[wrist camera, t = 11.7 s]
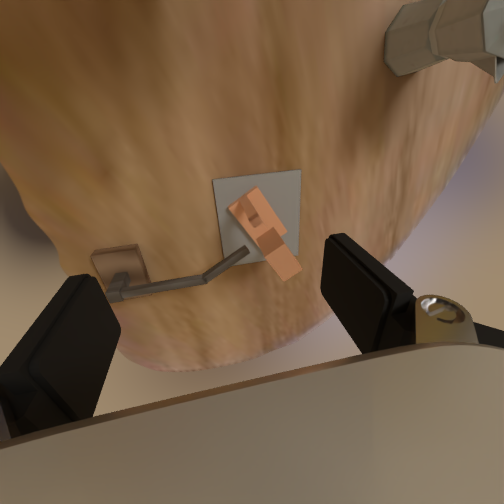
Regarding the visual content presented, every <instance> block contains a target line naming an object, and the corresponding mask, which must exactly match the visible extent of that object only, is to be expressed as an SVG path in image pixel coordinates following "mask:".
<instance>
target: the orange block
mask: <svg viewBox="0 0 504 504" xmlns="http://www.w3.org/2000/svg"><path fill="white" fill-rule="evenodd" d="M228 208H229V210H230V211H231V212H232V214H233V215H234V216H235V217H236V219H237V220H238V221H239V222H240V224H241V225H242V226H243V227H244V229H245V230H246V231H247V233H248V234H249V235H250V236H251V238H252V239H253V240H254V241H255V243H256V244H257V245H258V246H259V248H260V249H261V251H262V253H263V255H264V257H265V259H266V260H267V261H268V262H269V264H270V265H271V266H272V267H273V269H274V270H275V271H276V272H277V274H278V275H279V276H280V277H281V279H282V280H283V281H286V280H287V279H289V278H290V277H292V276H293V275H295V274H296V273H298V272H299V271H301V270H303V269H302V267H301V266H300V264H299V263H298V261H297V260H296V258H295V257H294V255H293V254H292V252H291V251H290V249H289V248H288V247H287V245H286V244H285V242H284V241H283V239H282V238H281V236H282V235H284V234H285V233H287V230H286V229H285V227H284V226H283V224H282V223H281V221H280V220H279V218H278V217H277V215H276V214H275V212H274V211H273V209H272V208H271V206H270V205H269V203H268V202H267V200H266V199H265V197H264V196H263V194H262V193H261V191H260V190H259V188H258V187H257V186H254V187H253V188H252V189H250V190H249V191H248V192H246V193H245V194H244V195H242V196H241V197H240V198H238V199H237V200H236V201H234V202H233V203H231V204H230V205H229V206H228Z"/></svg>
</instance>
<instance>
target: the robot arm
mask: <svg viewBox="0 0 504 504" xmlns="http://www.w3.org/2000/svg"><path fill="white" fill-rule="evenodd" d="M320 289H321V293H322V295H323V297H324V298H325V300H326V301H327V303H328V304H329V306H330V307H331V309H332V310H333V311H334V313H335V314H336V316H337V317H338V319H339V320H340V322H341V323H342V325H343V326H344V327H345V329H346V330H347V332H348V334H349V335H350V336H351V338H352V339H353V341H354V342H355V344H356V345H357V347H358V348H359V350H360V351H361V353H362V354H361V355H356V356H352V357H348V358H343V359H339V360H335V361H330V362H325V363H321V364H317V365H312V366H308V367H303V368H299V369H295V370H291V371H286V372H282V373H278V374H273V375H269V376H265V377H260V378H256V379H251V380H247V381H243V382H238V383H234V384H230V385H225V386H221V387H217V388H213V389H208V390H204V391H200V392H195V393H191V394H187V395H183V396H179V397H175V398H170V399H166V400H162V401H158V402H154V403H149V404H145V405H141V406H137V407H132V408H128V409H125V410H120V411H116V412H111V413H108V414H103V415H99V416H95V417H93V414H94V411H95V408H96V405H97V402H98V399H99V396H100V393H101V390H102V387H103V384H104V381H105V379H106V375H107V373H108V370H109V367H110V364H111V361H112V358H113V355H114V352H115V349H116V346H117V343H118V340H119V337H120V334H121V327H120V324H119V322H118V320H117V318H116V316H115V314H114V312H113V310H112V308H111V306H110V304H109V302H108V301H107V299H106V297H105V295H104V293H103V291H102V289H101V287H100V285H99V283H98V281H97V279H96V278H95V277H91V276H90V275H89V274H81V275H75V276H70V277H68V278H67V280H66V281H65V282H64V284H63V285H62V286H61V288H60V289H59V290H58V292H57V293H56V294H55V295H54V297H53V298H52V300H51V301H50V302H49V303H48V305H47V306H46V307H45V309H44V310H43V311H42V312H41V314H40V315H39V317H38V318H37V319H36V320H35V322H34V323H33V324H32V326H31V327H30V328H29V330H28V331H27V332H26V334H25V335H24V336H23V337H22V339H21V340H20V341H19V343H18V344H17V345H16V347H15V348H14V349H13V350H12V352H11V353H10V354H9V356H8V357H7V358H6V360H5V361H4V362H3V364H2V365H1V366H0V504H504V331H502V330H499V329H495V328H492V327H489V326H485V325H482V324H479V323H475V322H473V320H472V317H471V315H470V313H469V312H468V311H467V310H466V309H465V308H464V307H463V306H462V305H460V304H459V303H457V302H455V301H453V300H451V299H449V298H446V297H442V296H438V295H424V296H420V297H419V298H418V299H417V298H416V297H415V296H413V292H414V291H413V290H412V289H411V288H410V287H409V286H407V285H406V284H405V283H404V282H403V281H401V280H400V279H399V278H398V277H397V276H395V275H394V274H393V273H392V272H391V271H389V270H388V269H387V268H386V267H385V266H383V265H382V264H381V263H380V262H379V261H377V260H376V259H375V258H374V257H373V256H371V255H370V254H369V253H368V252H367V251H365V250H364V249H363V248H362V247H361V246H359V245H358V244H357V243H356V242H355V241H353V240H352V239H351V238H350V237H349V236H347V235H346V234H345V233H339V234H332V235H330V236H329V238H328V239H326V240H325V247H324V257H323V267H322V277H321V287H320Z"/></svg>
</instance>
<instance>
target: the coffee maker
mask: <svg viewBox="0 0 504 504" xmlns="http://www.w3.org/2000/svg"><path fill="white" fill-rule="evenodd" d="M449 58H450V59H452V60H454V61H460V62H471V63H473V64H474V65H476V66H477V67H479V68H481V69H482V70H484V71H485V72H487V73H488V74H490V75H492V76H493V77H494V82H495V83H498V81H499V80H500V79H501V77H502V76H503V74H504V0H422V1H418V2H414V3H410V4H406V5H403V6H402V8H401V9H400V11H399V12H398V14H397V15H396V17H395V18H394V20H393V21H392V23H391V24H390V26H389V28H388V29H387V31H386V32H385V49H384V62H385V64H386V65H387V66H388V67H389V68H390V69H391V71H392V72H393V73H394V74H395V75H396V76H397V77H399V76H402V75H406V74H410V73H414V72H417V71H420V70H422V69H425V68H427V67H430V66H432V65H435V64H437V63H440V62H442V61H444V60H447V59H449Z"/></svg>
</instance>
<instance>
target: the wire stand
mask: <svg viewBox="0 0 504 504" xmlns="http://www.w3.org/2000/svg"><path fill="white" fill-rule="evenodd" d="M248 254H250V251H249V249H248V248H247V247H246V245H243V246H242V247H241V248H239V249H238V250H236V251H235V252H233V253H232V254H231V255H229V256H228V257H226V258H225V259H223V260H222V261H221V262H219V263H218V264H216V265H215V266H213V267H212V268H211V269H209V270H208V271H206V272H205V273H203V274H201V275H195V276H189V277H183V278H177V279H171V280H165V281H159V282H153V283H151V281H150V278H149V275H148V272H147V269H146V266H145V264H144V261H143V258H142V255H141V252H140V249H139V247H138V244H134V245H127V246H120V247H113V248H106V249H99V250H95V251H94V252H93V253H92V255H91V258H92V260H93V262H94V264H95V266H96V269H97V271H98V273H99V275H100V277H101V279H102V281H103V283H104V285H105V287H106V289H107V291H106V293H105V294H106V296H107V298H108V301H109V303H114V302H120V301H123V300H126V299H132V298H138V297H144V296H150V295H152V293H156V292H162V291H168V290H173V289H179V288H185V287H191V286H197V285H202V284H207V283H208V282H209V281H211V280H212V279H213V278H215V277H216V276H218V275H219V274H221V273H222V272H224V271H225V270H226V269H228V268H229V267H231V266H232V265H234V264H235V263H237V262H238V261H239V260H241V259H242V258H244V257H245V256H247V255H248Z"/></svg>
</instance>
